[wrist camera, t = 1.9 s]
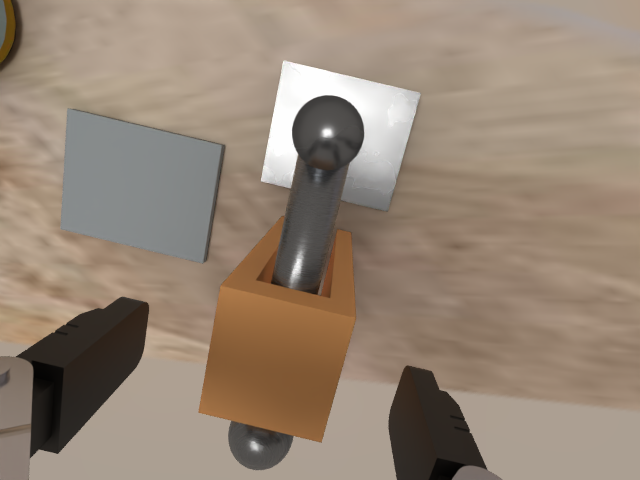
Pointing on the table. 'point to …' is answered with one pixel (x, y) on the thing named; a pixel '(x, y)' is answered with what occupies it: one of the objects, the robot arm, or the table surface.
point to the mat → (139, 185)
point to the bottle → (6, 28)
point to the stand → (324, 186)
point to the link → (280, 343)
